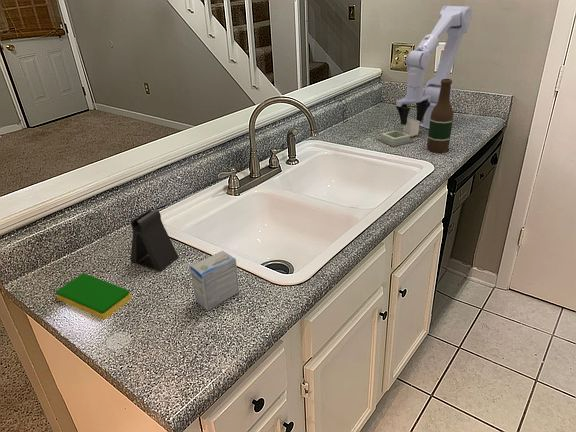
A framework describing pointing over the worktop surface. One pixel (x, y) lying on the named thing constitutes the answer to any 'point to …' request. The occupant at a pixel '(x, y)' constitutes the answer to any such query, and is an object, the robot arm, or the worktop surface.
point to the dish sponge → (93, 295)
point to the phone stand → (151, 242)
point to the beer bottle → (441, 120)
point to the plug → (411, 127)
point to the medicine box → (215, 279)
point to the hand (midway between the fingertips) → (411, 122)
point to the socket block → (395, 138)
